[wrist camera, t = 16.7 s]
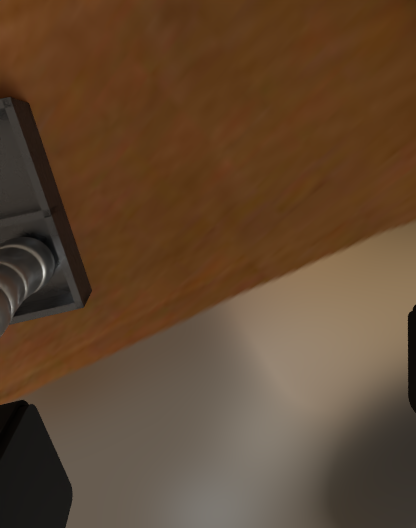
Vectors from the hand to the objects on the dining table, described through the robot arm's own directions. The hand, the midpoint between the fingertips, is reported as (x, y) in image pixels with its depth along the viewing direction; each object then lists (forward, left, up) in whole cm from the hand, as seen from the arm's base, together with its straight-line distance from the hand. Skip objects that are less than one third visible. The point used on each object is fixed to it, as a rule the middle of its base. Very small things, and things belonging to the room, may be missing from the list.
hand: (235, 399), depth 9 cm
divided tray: (-2, -19, -36) cm, 41 cm away
